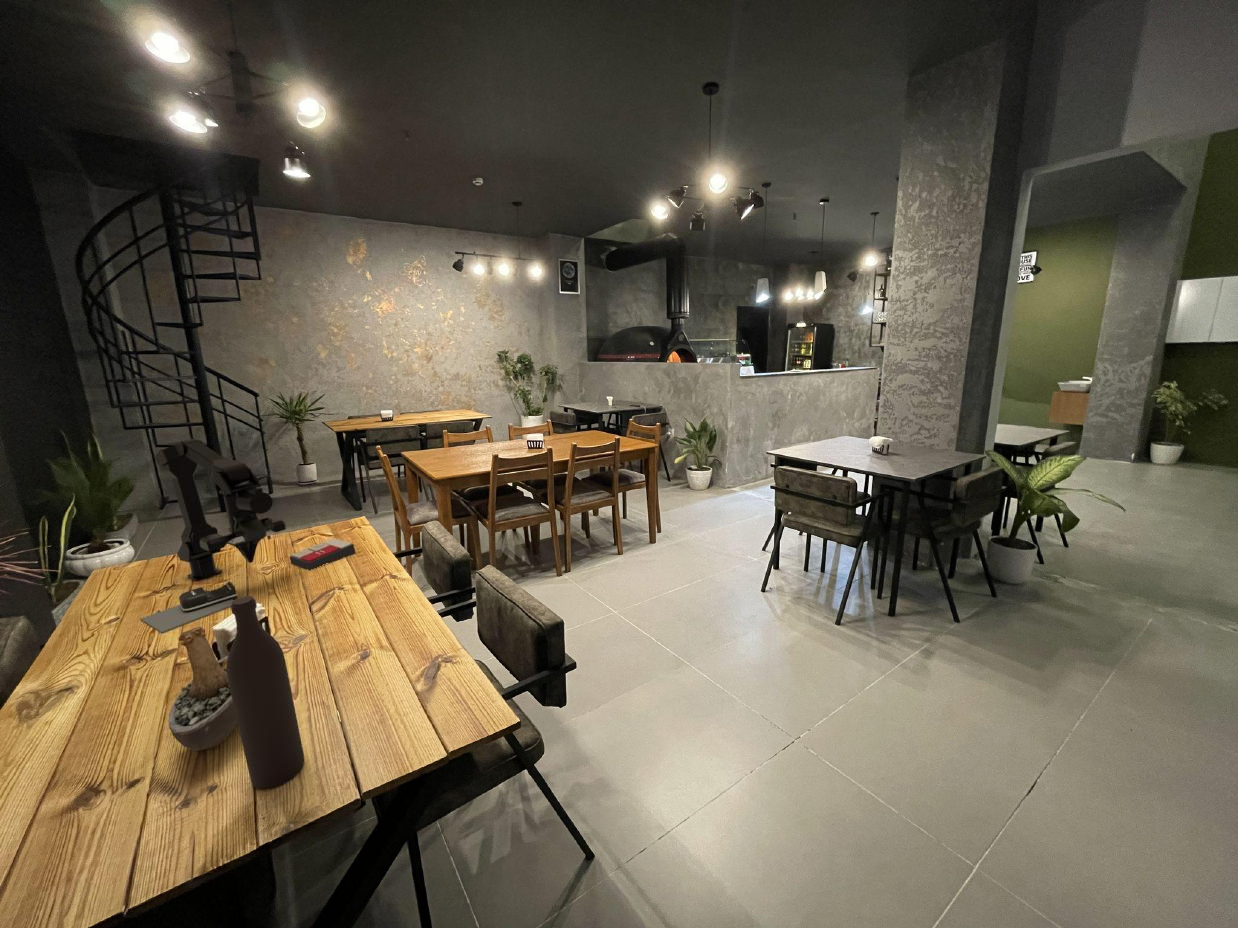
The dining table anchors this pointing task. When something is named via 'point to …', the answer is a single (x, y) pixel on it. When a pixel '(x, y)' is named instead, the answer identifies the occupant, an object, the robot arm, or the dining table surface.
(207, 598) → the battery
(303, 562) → the grey and red box
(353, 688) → the dining table surface
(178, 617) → the mat
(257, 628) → the wine bottle
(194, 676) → the planter
